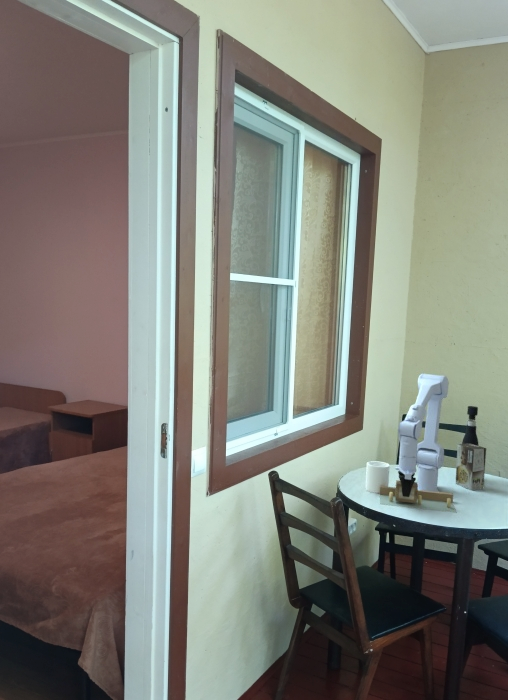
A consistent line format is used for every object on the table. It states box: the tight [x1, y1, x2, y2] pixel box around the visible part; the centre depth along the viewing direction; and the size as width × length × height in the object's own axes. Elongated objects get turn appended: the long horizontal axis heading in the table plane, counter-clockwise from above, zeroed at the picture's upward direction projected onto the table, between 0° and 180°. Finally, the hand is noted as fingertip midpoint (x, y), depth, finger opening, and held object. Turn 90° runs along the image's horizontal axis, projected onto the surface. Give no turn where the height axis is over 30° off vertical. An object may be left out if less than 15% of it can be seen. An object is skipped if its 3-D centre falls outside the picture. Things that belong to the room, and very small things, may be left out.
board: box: [379, 486, 457, 514], centre depth 195 cm, size 12×25×4 cm, turn 78°
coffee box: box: [455, 443, 487, 491], centre depth 219 cm, size 9×6×16 cm
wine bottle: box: [461, 405, 480, 446], centre depth 228 cm, size 6×6×30 cm
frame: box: [395, 479, 418, 503], centre depth 194 cm, size 4×7×6 cm, turn 78°
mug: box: [364, 460, 391, 494], centre depth 209 cm, size 12×8×10 cm
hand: (405, 494), depth 194 cm, fingers closed on frame, 4 cm apart
